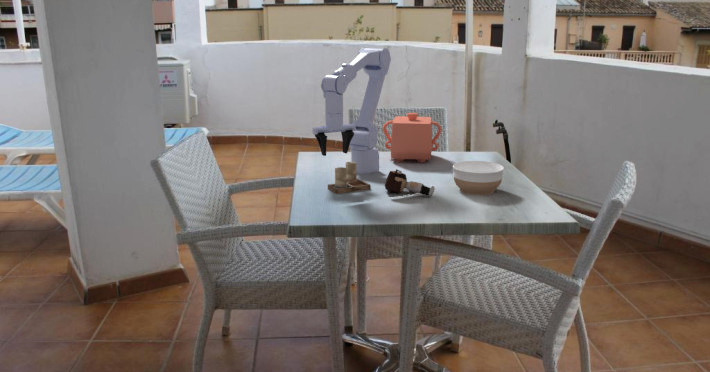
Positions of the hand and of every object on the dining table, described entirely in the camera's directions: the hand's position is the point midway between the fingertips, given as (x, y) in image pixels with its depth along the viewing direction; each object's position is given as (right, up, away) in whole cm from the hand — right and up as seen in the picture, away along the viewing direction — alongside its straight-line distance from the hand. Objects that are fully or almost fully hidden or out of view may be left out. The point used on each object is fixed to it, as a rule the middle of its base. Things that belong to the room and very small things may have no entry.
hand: (334, 154), depth 198 cm
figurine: (+23, -14, -11) cm, 29 cm away
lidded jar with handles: (+29, +1, +41) cm, 51 cm away
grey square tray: (+6, -10, +1) cm, 11 cm away
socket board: (+5, -12, -7) cm, 15 cm away
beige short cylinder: (+5, -9, +1) cm, 11 cm away
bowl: (+46, -12, -6) cm, 48 cm away
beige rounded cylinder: (+2, -11, -8) cm, 14 cm away
